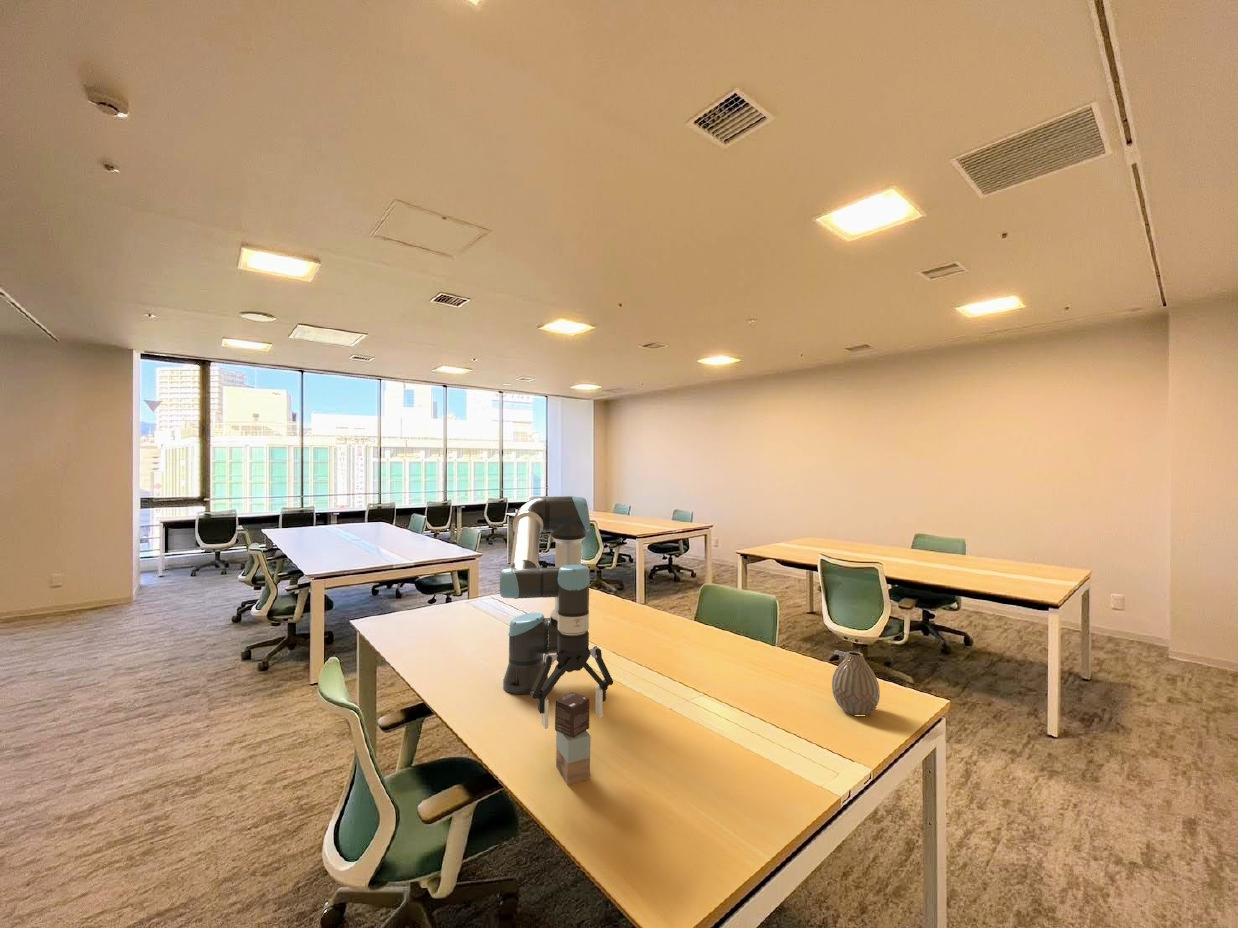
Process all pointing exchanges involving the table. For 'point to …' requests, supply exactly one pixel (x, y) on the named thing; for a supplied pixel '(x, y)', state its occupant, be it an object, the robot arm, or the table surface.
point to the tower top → (574, 746)
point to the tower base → (572, 769)
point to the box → (572, 714)
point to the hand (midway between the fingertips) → (572, 720)
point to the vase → (855, 685)
